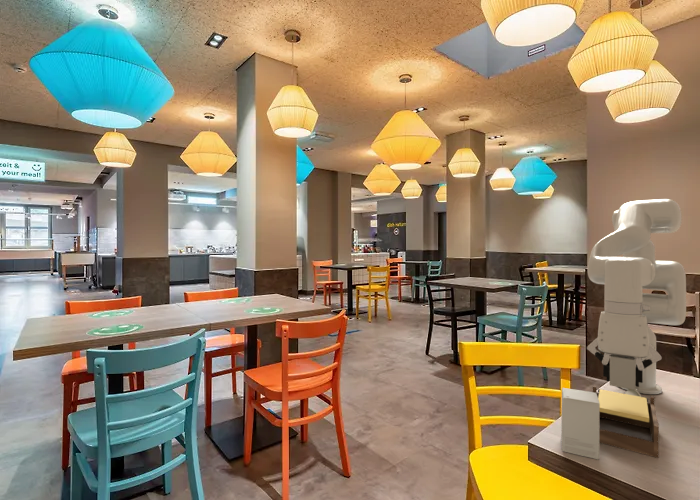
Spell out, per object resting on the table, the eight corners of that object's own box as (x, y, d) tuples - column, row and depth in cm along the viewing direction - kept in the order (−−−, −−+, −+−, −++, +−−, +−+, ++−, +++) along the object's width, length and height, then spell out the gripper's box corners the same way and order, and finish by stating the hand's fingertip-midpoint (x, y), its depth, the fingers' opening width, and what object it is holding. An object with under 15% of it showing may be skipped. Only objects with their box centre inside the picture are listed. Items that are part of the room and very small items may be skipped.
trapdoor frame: (593, 414, 104) (593, 384, 104) (653, 428, 97) (653, 395, 97) (588, 439, 91) (588, 405, 91) (658, 457, 83) (658, 420, 83)
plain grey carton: (610, 379, 95) (610, 352, 95) (634, 383, 92) (635, 355, 92) (609, 385, 91) (609, 356, 91) (635, 389, 88) (635, 360, 88)
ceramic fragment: (651, 413, 106) (651, 399, 106) (629, 410, 108) (629, 397, 108) (631, 395, 120) (631, 383, 120) (612, 393, 121) (612, 381, 121)
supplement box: (600, 460, 82) (600, 403, 82) (561, 451, 86) (561, 397, 86) (597, 445, 89) (597, 392, 89) (561, 437, 92) (561, 386, 92)
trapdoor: (598, 392, 103) (598, 388, 103) (648, 401, 96) (648, 397, 96) (594, 410, 91) (594, 406, 91) (651, 422, 85) (651, 418, 85)
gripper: (666, 310, 89) (666, 385, 90) (583, 303, 100) (582, 371, 100) (669, 314, 83) (669, 395, 84) (580, 307, 93) (580, 379, 94)
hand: (622, 381), depth 92 cm, fingers closed on plain grey carton, 5 cm apart
